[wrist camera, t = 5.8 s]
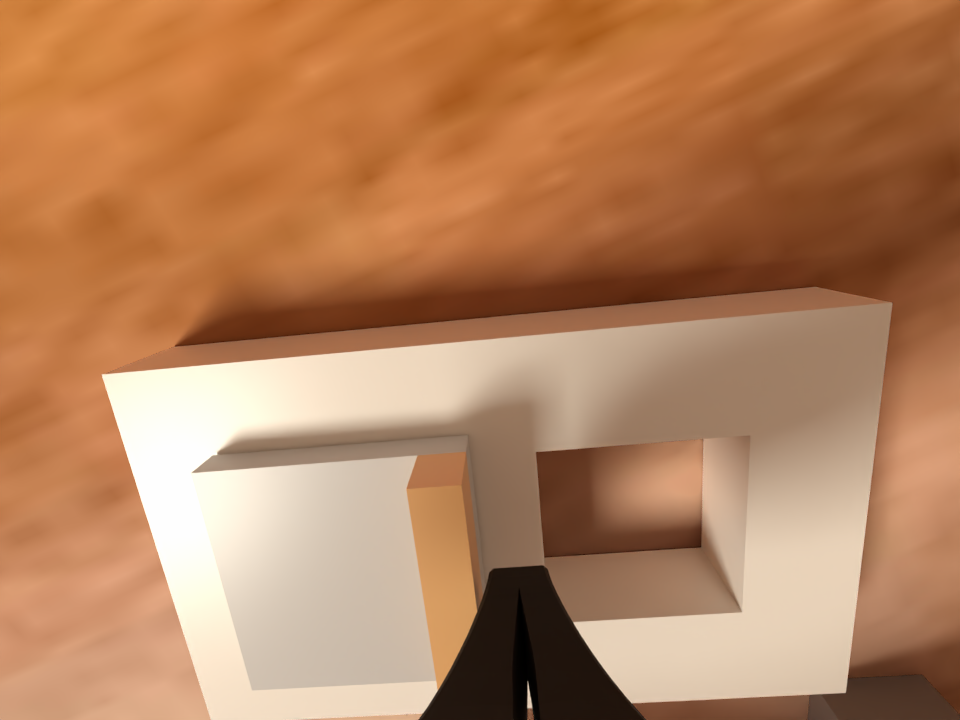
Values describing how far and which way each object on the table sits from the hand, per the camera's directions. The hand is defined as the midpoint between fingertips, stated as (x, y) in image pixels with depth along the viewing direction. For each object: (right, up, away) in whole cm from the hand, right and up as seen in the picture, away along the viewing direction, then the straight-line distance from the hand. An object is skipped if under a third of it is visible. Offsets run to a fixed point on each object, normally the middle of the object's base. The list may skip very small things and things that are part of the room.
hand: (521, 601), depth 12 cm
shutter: (-4, 0, +2) cm, 5 cm away
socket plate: (0, +1, +5) cm, 5 cm away
